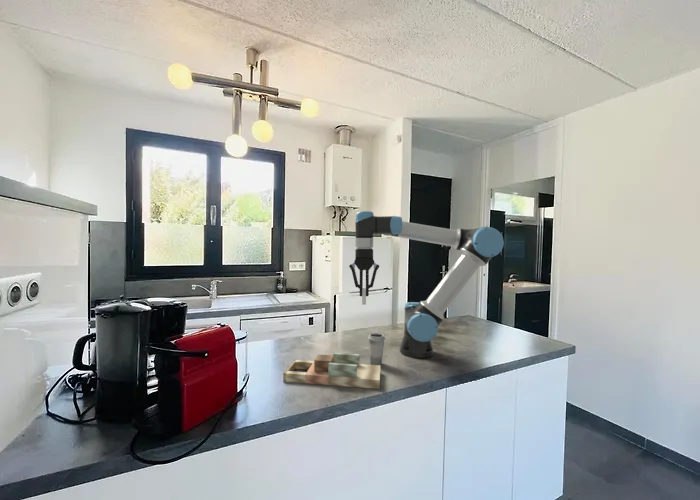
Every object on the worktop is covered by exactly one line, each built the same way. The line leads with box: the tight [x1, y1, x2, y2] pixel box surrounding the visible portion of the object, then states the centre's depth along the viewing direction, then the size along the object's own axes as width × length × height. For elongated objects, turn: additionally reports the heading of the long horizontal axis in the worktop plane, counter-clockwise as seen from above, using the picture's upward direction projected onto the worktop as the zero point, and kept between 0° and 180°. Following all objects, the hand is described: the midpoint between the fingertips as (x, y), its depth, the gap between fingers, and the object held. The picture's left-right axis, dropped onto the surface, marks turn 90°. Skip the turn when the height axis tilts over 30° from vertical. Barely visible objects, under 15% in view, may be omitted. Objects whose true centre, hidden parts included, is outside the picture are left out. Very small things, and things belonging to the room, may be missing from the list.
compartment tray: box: [282, 352, 381, 390], centre depth 114 cm, size 34×13×7 cm, turn 83°
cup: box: [367, 332, 386, 366], centre depth 128 cm, size 7×7×12 cm
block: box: [313, 353, 334, 372], centre depth 115 cm, size 6×6×4 cm
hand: (364, 303), depth 132 cm, fingers closed
